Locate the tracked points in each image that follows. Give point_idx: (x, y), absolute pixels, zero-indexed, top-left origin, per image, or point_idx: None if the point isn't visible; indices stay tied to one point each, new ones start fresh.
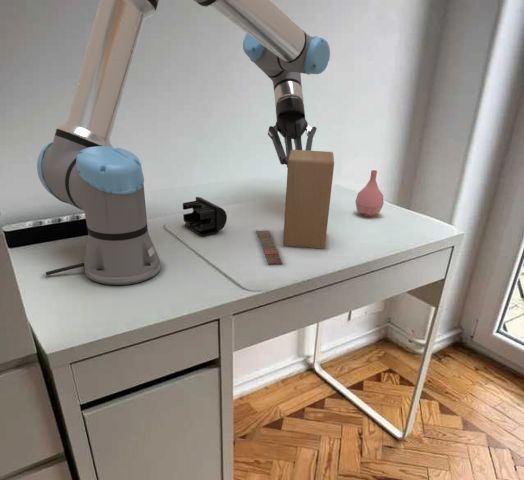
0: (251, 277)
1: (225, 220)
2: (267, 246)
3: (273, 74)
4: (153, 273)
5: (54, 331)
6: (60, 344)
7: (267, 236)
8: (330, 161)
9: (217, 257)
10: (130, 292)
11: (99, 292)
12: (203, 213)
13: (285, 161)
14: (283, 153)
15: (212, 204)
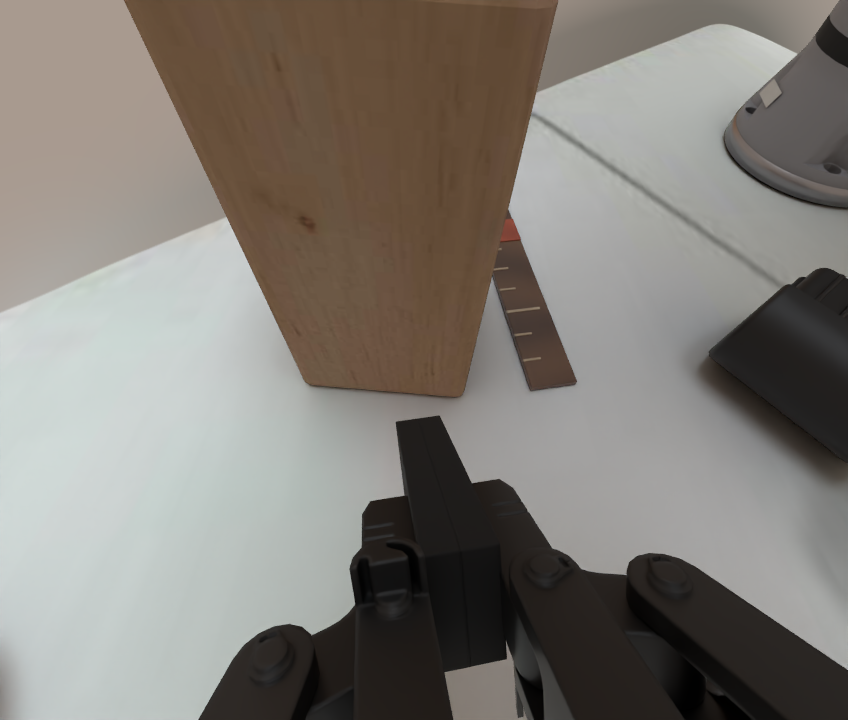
0: (527, 144)
1: (719, 342)
2: (514, 262)
3: None
4: (728, 129)
5: (752, 41)
6: (722, 28)
7: (526, 333)
8: None
9: (635, 212)
10: (726, 102)
11: None
12: (812, 274)
13: (614, 582)
14: (726, 634)
15: (833, 319)
